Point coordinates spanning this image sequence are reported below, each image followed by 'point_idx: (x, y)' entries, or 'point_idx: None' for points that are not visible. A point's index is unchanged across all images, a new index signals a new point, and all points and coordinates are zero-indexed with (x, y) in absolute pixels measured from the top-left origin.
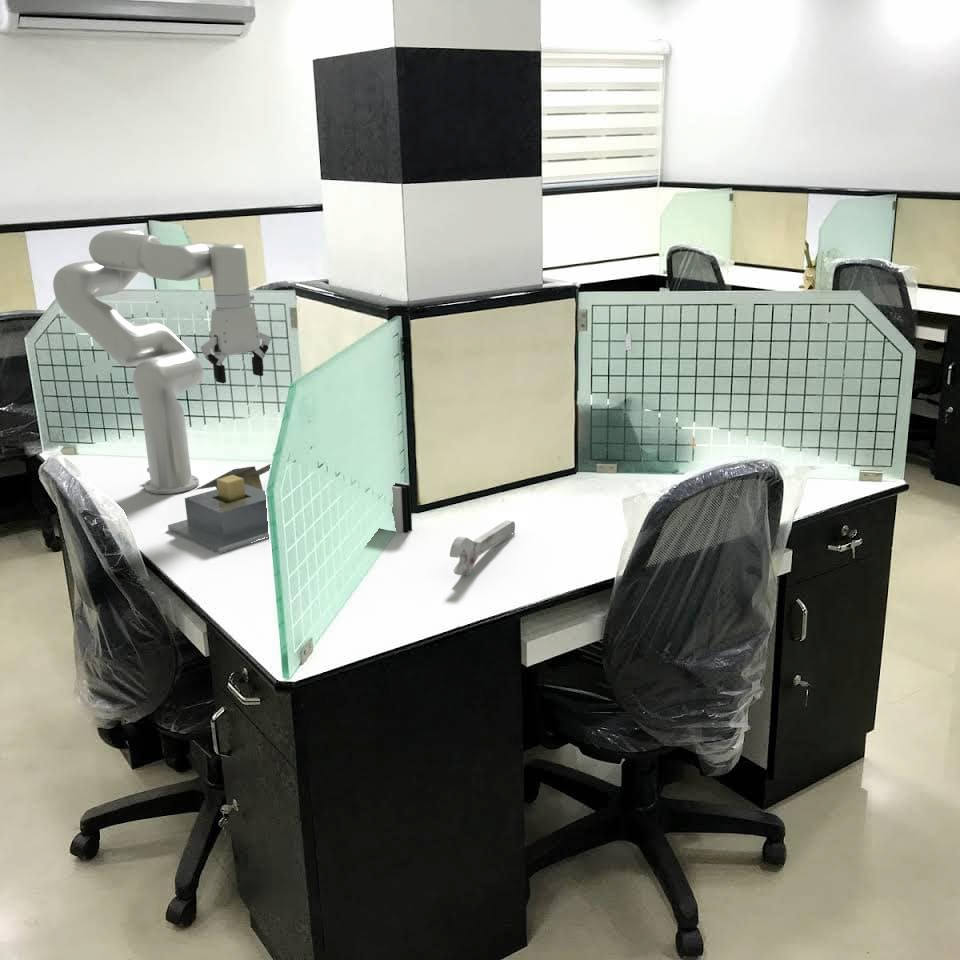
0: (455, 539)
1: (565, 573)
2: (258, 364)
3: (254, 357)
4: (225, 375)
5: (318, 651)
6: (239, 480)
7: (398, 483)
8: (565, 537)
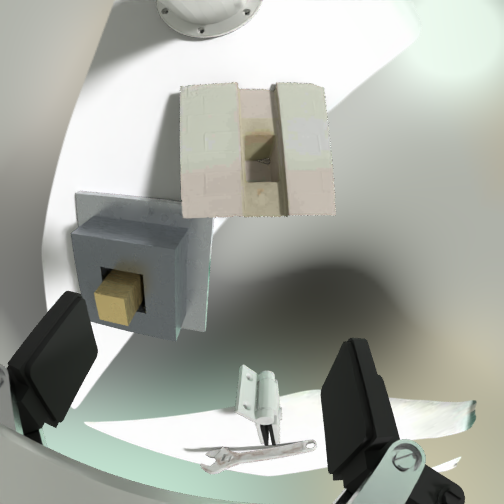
0: (208, 471)
1: (263, 468)
2: (330, 442)
3: (360, 456)
4: (83, 380)
5: (96, 422)
6: (121, 323)
7: (274, 438)
8: (320, 456)
